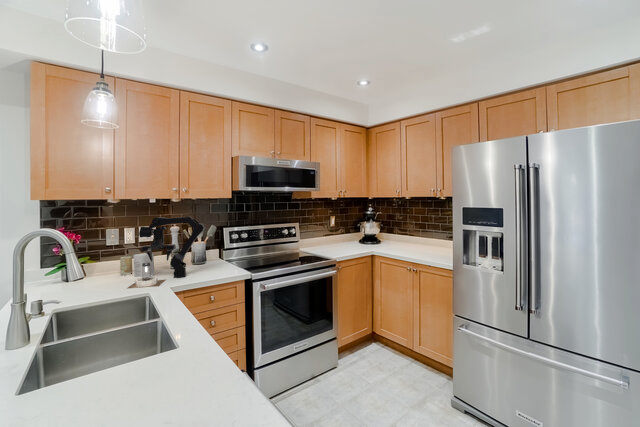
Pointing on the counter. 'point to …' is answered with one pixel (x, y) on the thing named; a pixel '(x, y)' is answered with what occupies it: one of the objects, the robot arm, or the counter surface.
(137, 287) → the walnut board
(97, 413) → the counter surface
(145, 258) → the supplement box
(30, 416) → the counter surface
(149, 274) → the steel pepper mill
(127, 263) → the skincare box
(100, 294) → the counter surface
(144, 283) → the ceramic ring
